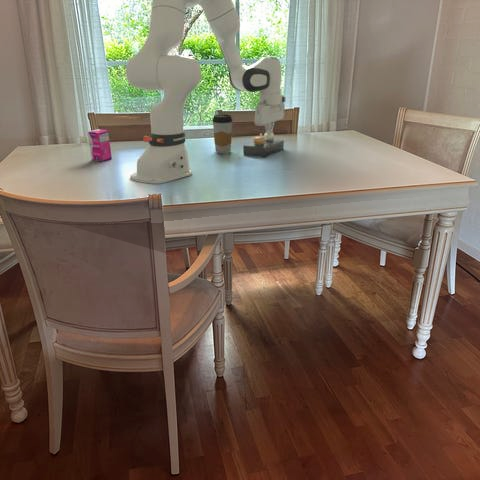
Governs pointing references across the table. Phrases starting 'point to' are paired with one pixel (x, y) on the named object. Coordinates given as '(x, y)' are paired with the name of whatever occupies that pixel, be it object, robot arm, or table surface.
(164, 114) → the robot arm
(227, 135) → the coffee cup
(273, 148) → the mount
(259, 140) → the knob orange
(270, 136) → the knob cream
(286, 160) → the table surface
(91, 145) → the supplement box
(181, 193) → the table surface
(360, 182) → the table surface
